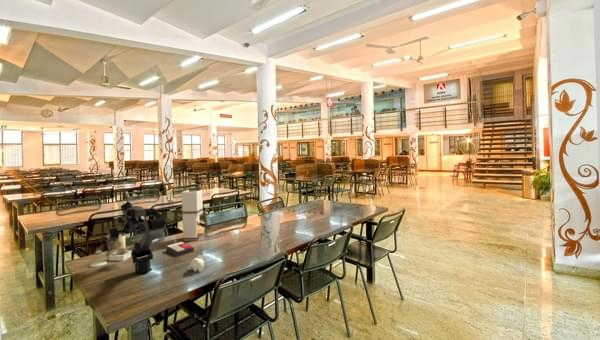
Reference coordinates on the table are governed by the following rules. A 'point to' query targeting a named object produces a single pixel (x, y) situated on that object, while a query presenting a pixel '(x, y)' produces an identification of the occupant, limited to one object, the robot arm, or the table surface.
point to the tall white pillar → (191, 214)
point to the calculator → (179, 249)
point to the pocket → (120, 256)
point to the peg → (120, 246)
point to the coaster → (98, 264)
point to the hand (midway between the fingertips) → (124, 238)
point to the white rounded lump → (197, 263)
